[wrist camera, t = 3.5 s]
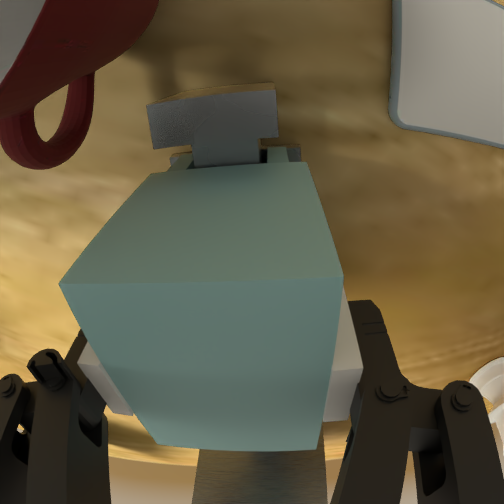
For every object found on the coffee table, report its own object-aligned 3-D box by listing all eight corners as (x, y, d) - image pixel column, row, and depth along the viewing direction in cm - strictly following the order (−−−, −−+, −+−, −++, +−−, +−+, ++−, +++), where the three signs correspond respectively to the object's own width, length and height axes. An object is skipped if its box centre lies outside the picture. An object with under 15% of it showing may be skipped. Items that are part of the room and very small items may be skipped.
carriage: (196, 293, 18) (157, 444, 11) (167, 156, 14) (58, 283, 6) (302, 289, 18) (316, 449, 10) (300, 146, 14) (344, 276, 6)
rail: (229, 404, 26) (223, 453, 22) (163, 94, 13) (118, 111, 9) (297, 403, 26) (299, 453, 22) (296, 81, 13) (309, 88, 9)
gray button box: (219, 435, 30) (209, 519, 22) (206, 403, 27) (191, 505, 18) (314, 434, 30) (318, 520, 21) (320, 401, 26) (327, 507, 17)
